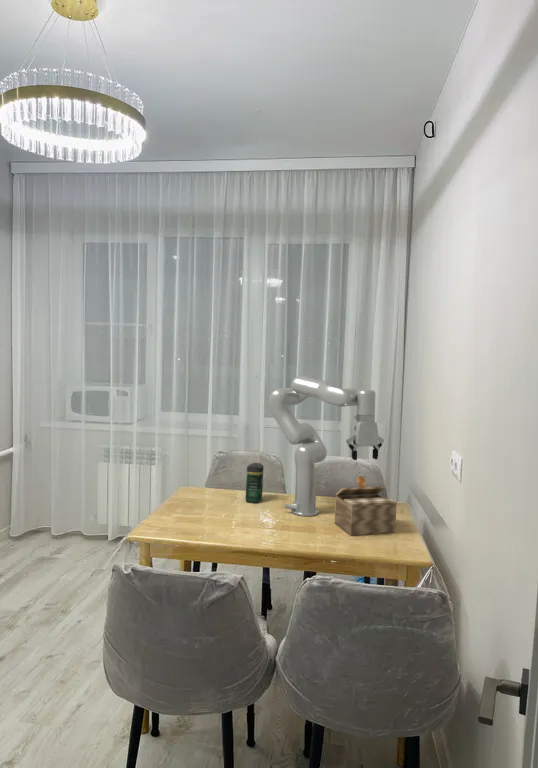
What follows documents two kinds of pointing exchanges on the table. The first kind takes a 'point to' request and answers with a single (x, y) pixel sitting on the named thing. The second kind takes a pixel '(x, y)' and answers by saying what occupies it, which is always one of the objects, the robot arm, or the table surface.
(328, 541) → the table surface
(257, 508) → the table surface
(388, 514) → the carton
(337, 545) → the table surface
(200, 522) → the table surface
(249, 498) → the coffee jar
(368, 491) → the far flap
